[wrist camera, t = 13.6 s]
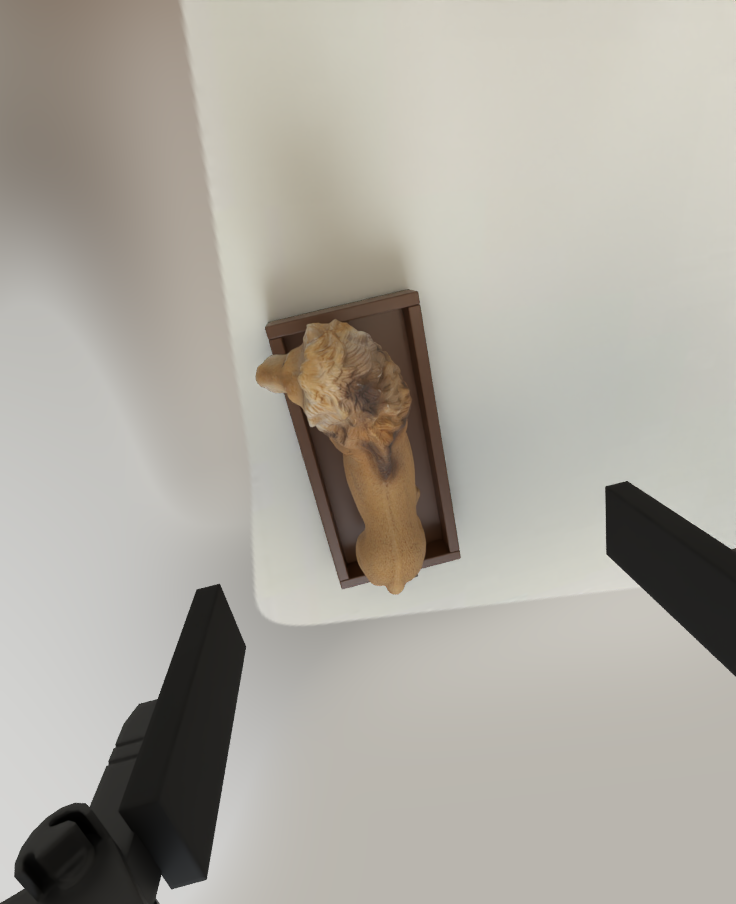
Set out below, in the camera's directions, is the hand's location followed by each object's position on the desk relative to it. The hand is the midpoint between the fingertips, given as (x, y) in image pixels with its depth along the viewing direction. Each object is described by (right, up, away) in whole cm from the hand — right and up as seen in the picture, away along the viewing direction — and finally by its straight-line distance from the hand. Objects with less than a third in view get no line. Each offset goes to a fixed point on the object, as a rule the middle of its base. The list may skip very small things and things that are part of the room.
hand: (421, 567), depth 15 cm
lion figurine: (-2, +4, +10) cm, 11 cm away
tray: (-2, +4, +10) cm, 11 cm away
